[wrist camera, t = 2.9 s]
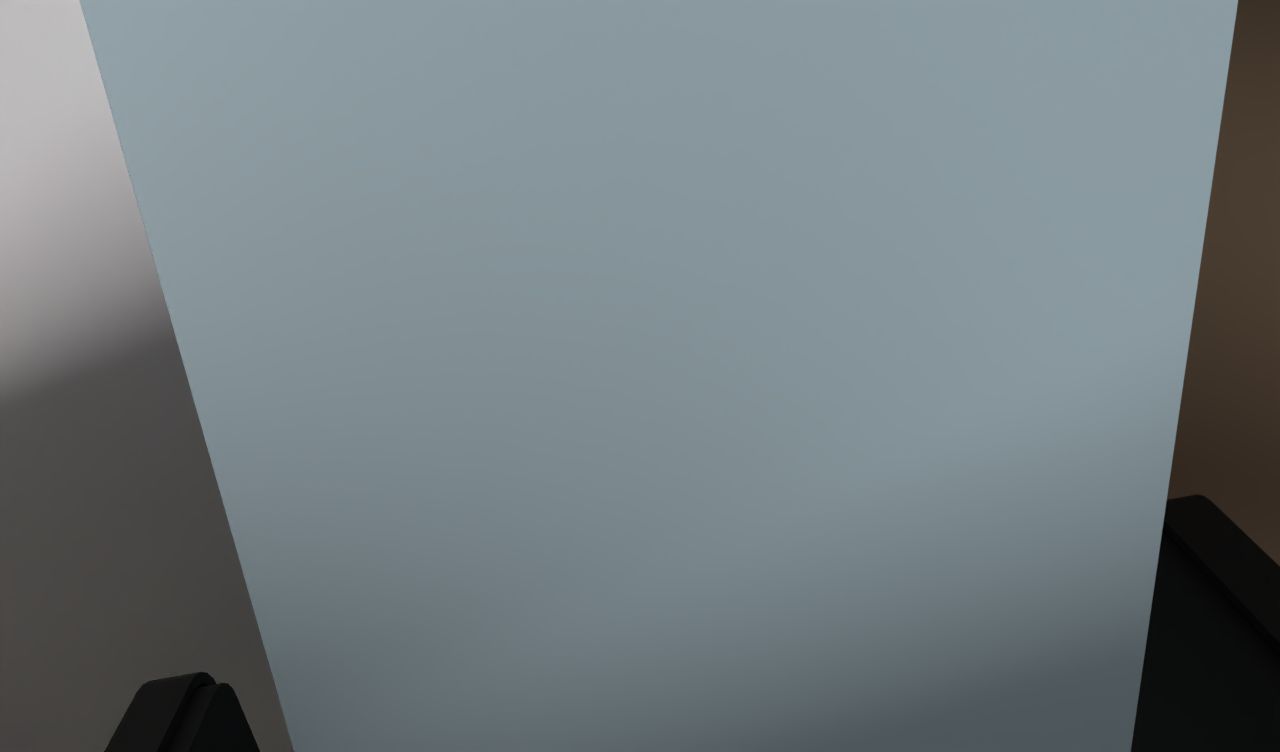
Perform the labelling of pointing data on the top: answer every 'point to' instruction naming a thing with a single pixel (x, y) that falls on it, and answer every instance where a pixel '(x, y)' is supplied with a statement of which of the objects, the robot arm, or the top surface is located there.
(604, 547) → the pale blue block
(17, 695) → the top surface
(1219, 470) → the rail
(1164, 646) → the robot arm
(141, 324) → the top surface
